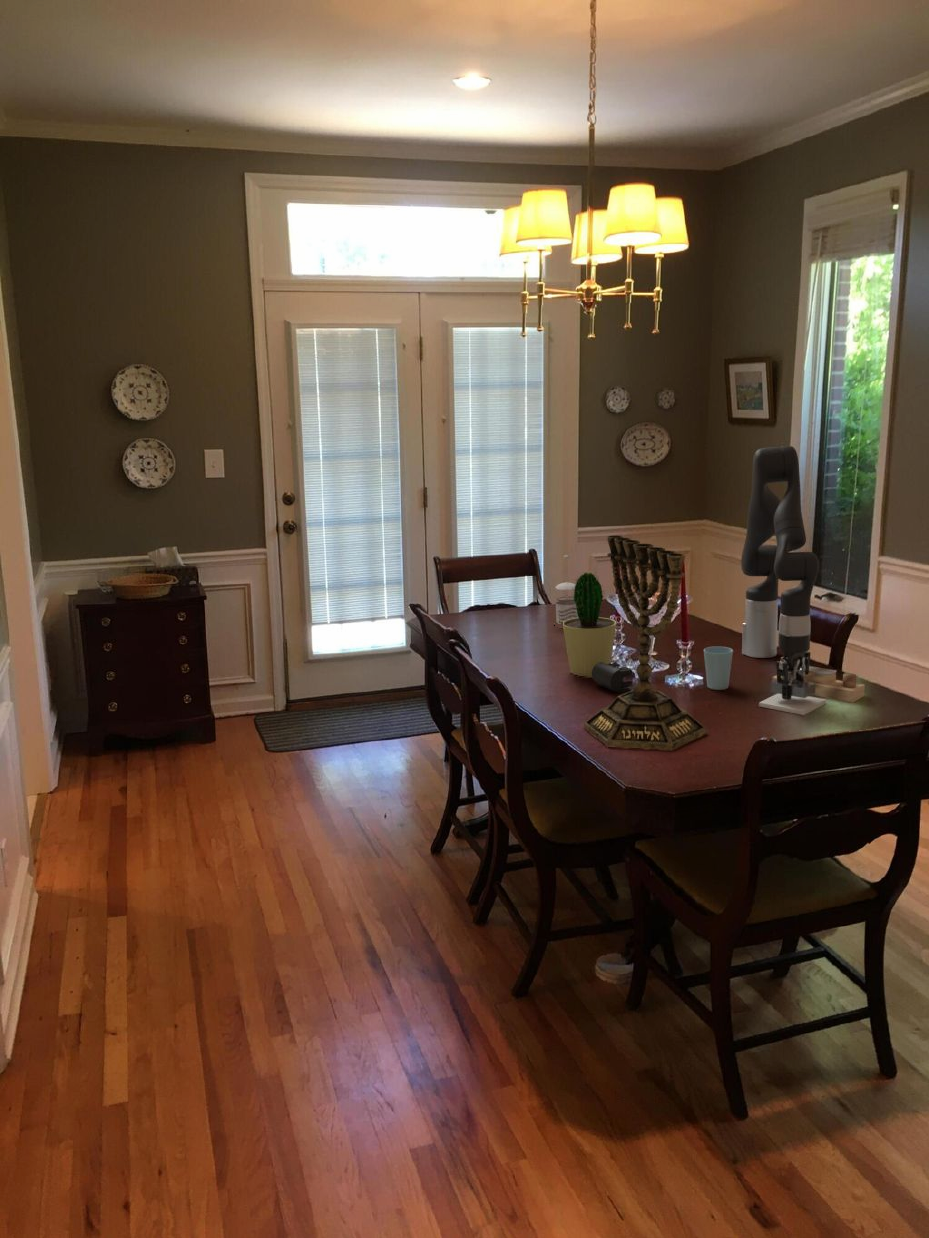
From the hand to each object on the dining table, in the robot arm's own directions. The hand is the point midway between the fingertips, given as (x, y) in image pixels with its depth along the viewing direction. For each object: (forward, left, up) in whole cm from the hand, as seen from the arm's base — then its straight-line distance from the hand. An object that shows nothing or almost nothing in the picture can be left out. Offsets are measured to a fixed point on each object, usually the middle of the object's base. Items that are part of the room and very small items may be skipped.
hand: (792, 695), depth 254 cm
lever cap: (0, 0, +1) cm, 1 cm away
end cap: (-45, -15, -3) cm, 48 cm away
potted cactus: (-60, -5, -3) cm, 60 cm away
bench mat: (0, 0, -2) cm, 2 cm away
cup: (-23, +3, -3) cm, 23 cm away
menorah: (-18, -39, -3) cm, 43 cm away
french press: (-102, +39, -3) cm, 109 cm away
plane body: (0, +14, -2) cm, 14 cm away
